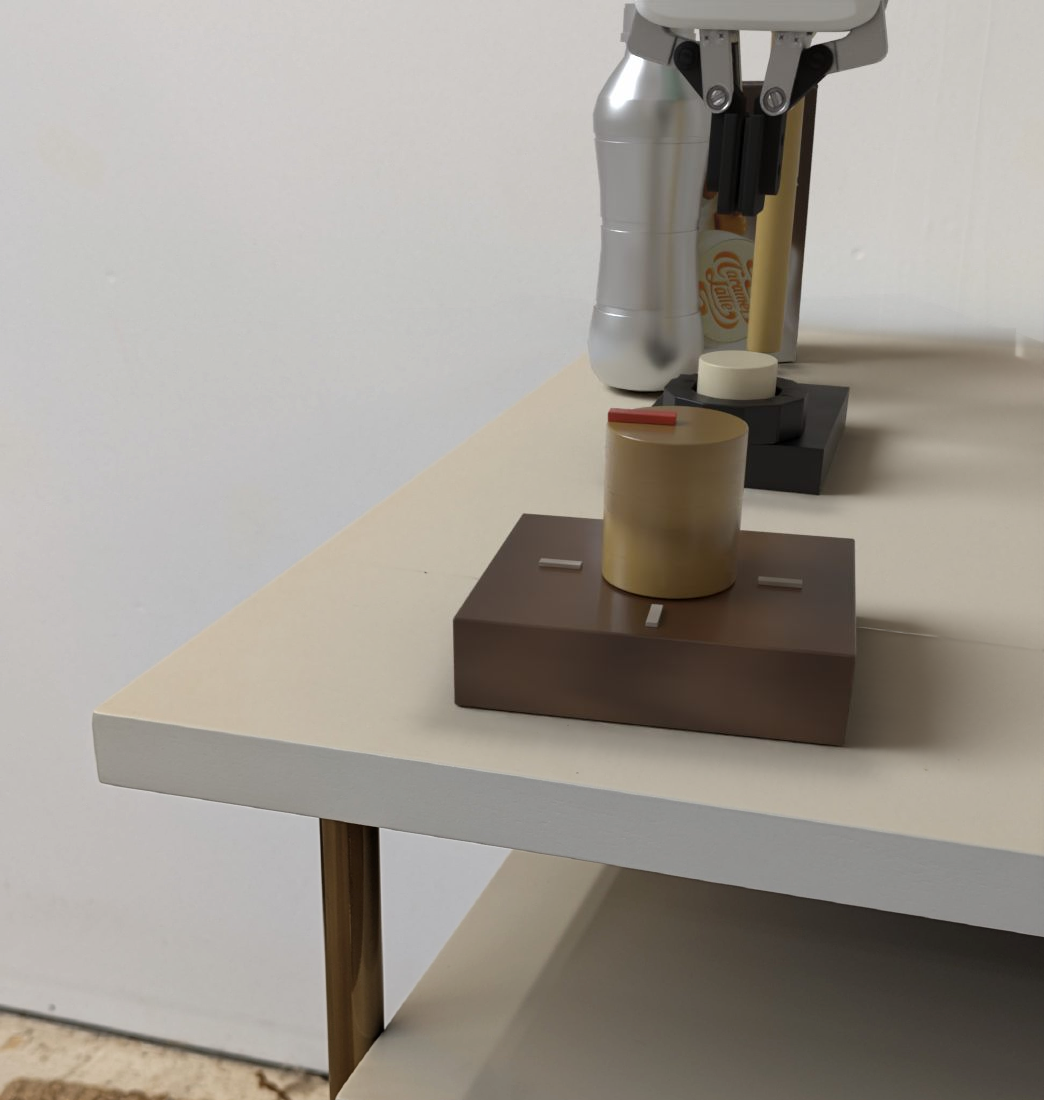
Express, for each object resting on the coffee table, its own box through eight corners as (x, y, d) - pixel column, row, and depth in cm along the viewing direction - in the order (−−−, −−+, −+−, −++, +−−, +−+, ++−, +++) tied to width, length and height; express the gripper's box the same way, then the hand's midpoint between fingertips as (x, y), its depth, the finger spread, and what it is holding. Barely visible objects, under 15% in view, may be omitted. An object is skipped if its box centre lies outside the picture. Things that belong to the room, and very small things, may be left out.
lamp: (717, 329, 74) (747, -102, 64) (834, 337, 72) (883, -104, 63) (694, 354, 68) (724, -113, 59) (821, 363, 66) (872, -116, 57)
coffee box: (765, 342, 89) (787, 78, 82) (797, 364, 84) (824, 83, 76) (631, 346, 88) (642, 79, 81) (655, 368, 82) (669, 83, 75)
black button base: (678, 413, 73) (682, 339, 71) (845, 428, 71) (853, 352, 69) (622, 481, 62) (625, 396, 60) (817, 501, 60) (826, 413, 58)
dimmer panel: (845, 616, 48) (855, 533, 47) (844, 747, 39) (857, 650, 38) (522, 587, 50) (522, 508, 49) (453, 705, 42) (451, 613, 40)
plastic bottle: (688, 407, 74) (712, 2, 65) (571, 397, 76) (579, 2, 67) (711, 381, 79) (737, 4, 70) (602, 372, 81) (613, 4, 72)
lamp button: (704, 384, 64) (707, 347, 63) (779, 390, 63) (783, 353, 62) (689, 402, 61) (692, 364, 60) (768, 409, 60) (772, 370, 59)
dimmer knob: (740, 555, 45) (754, 400, 43) (730, 605, 41) (744, 437, 39) (612, 545, 46) (618, 392, 44) (590, 592, 42) (596, 428, 40)
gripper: (994, -290, 51) (920, 213, 60) (618, -276, 55) (597, 194, 63) (994, -337, 45) (911, 234, 53) (568, -317, 49) (552, 211, 57)
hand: (740, 211), depth 58 cm, fingers closed
